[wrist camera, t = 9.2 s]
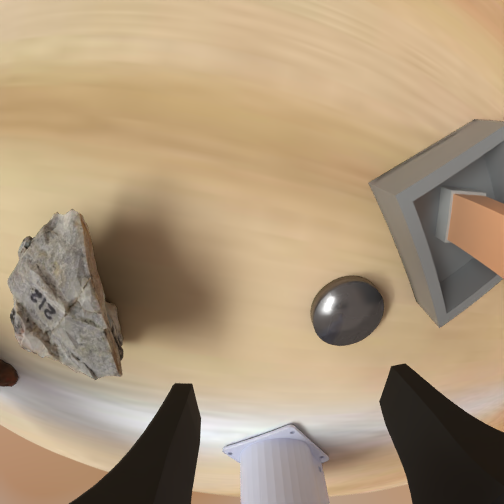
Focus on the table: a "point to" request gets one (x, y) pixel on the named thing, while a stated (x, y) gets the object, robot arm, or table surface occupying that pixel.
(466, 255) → the bin
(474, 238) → the strut
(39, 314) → the mineral specimen
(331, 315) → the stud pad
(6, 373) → the sculpture
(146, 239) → the table surface
